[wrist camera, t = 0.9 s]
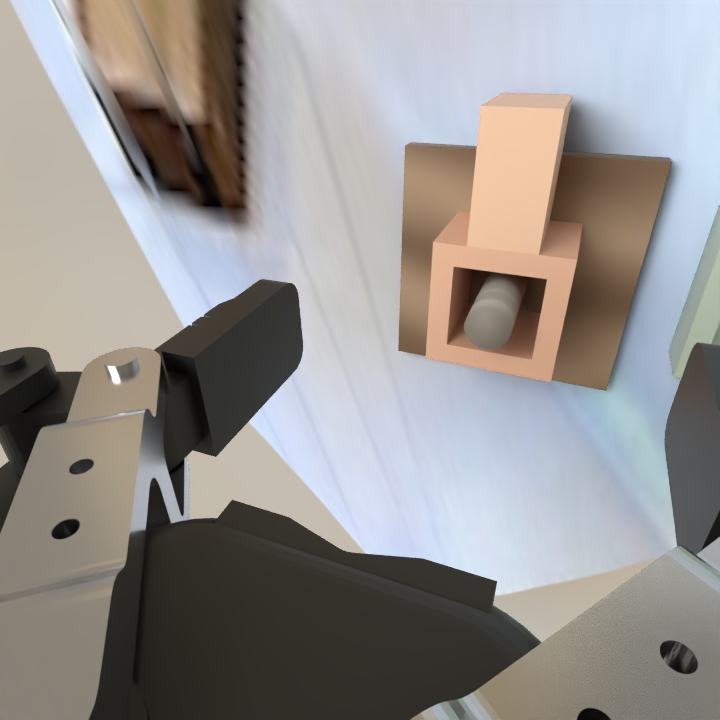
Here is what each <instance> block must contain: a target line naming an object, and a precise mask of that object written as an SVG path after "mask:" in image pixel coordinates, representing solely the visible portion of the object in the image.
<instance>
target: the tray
mask: <svg viewBox="0 0 720 720" xmlns="http://www.w3.org/2000/svg"><path fill="white" fill-rule="evenodd" d="M698 342H700V343H707V344H714V345H720V205H719V208H718V211H717V213H716V216H715V219H714V222H713V225H712V228H711V231H710V234H709V237H708V239H707V242H706V245H705V248H704V251H703V254H702V257H701V260H700V263H699V265H698V268H697V271H696V274H695V277H694V280H693V283H692V286H691V289H690V291H689V294H688V297H687V300H686V303H685V306H684V309H683V312H682V314H681V317H680V320H679V323H678V326H677V329H676V332H675V335H674V338H673V340H672V343H671V346H670V349H669V355H670V361H671V367H672V373H673V377H676V378H682V375H683V372H684V369H685V366H686V364H687V361H688V358H689V355H690V353H691V350H692V348H693V347H694V345H695V344H696V343H698Z"/></svg>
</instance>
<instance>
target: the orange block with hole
mask: <svg viewBox="0 0 720 720" xmlns="http://www.w3.org/2000/svg"><path fill="white" fill-rule="evenodd" d="M572 96H573V95H563V94H526V93H501V94H500V95H498V96H496V97H495V98H493V99H491V100H490V101H488V102H487V103H485V104H483V105H482V106H481V110H480V120H479V130H478V140H477V150H476V160H475V170H474V180H473V190H472V200H471V210H470V212H462V211H459V212H458V213H457V214H456V215H455V216H454V218H453V219H452V220H451V221H450V222H449V224H448V225H447V226H446V227H445V228H444V230H443V231H442V232H441V233H440V234H439V236H438V237H437V238H436V239H435V241H434V242H433V251H432V267H431V282H430V298H429V313H428V329H427V344H426V358H428V359H433V360H438V361H443V362H449V363H454V364H459V365H464V366H469V367H474V368H479V369H485V370H490V371H495V372H500V373H505V374H510V375H515V376H521V377H526V378H531V379H536V380H541V381H546V382H551V379H552V374H553V369H554V365H555V360H556V356H557V351H558V346H559V342H560V337H561V333H562V328H563V323H564V319H565V314H566V310H567V305H568V300H569V296H570V291H571V286H572V282H573V277H574V273H575V268H576V263H577V259H578V252H579V245H580V238H581V232H582V225H583V224H582V223H572V222H562V221H552V220H550V218H551V212H552V207H553V201H554V196H555V190H556V185H557V179H558V173H559V168H560V162H561V157H562V151H563V146H564V140H565V135H566V129H567V124H568V118H569V113H570V107H571V102H572ZM472 269H475V270H483V271H490V272H498V273H505V274H512V275H520V276H527V277H535V278H542V279H547V283H546V288H545V294H544V299H543V304H542V309H541V313H535V312H528V311H522V310H519V311H518V314H517V317H516V320H515V323H514V326H513V329H512V332H511V335H510V338H509V339H508V341H507V342H506V343H505V344H504V345H503V346H501V347H499V348H496V349H483V348H480V347H477V346H476V345H474V344H473V343H471V342H470V340H469V339H468V338H467V336H466V334H465V331H464V324H465V320H466V318H467V316H468V314H469V312H470V310H471V308H472V306H473V304H474V303H470V302H469V294H470V285H471V276H472Z"/></svg>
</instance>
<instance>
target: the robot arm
mask: <svg viewBox="0 0 720 720" xmlns="http://www.w3.org/2000/svg"><path fill="white" fill-rule="evenodd" d="M302 352H303V339H302V328H301V318H300V308H299V297H298V292H297V289H296V287H295V285H294V284H292V283H286V282H279V281H272V280H265V279H261V280H259V281H258V282H256V283H255V284H253V285H252V286H251V287H249V288H248V289H246V290H245V291H244V292H242V293H241V294H240V295H238V296H237V297H235V298H233V299H231V300H228V301H226V302H223V303H221V304H218V305H217V306H216V307H214V308H213V309H211V310H210V311H208V312H207V313H206V314H204V317H200V318H199V319H197V320H196V321H194V322H193V323H192V326H191V325H189V326H187V327H186V328H185V329H183V330H182V331H180V332H179V333H178V334H176V335H175V336H174V337H172V338H170V339H169V340H168V341H166V342H165V343H163V344H162V345H161V346H159V347H158V348H156V349H155V350H152V349H148V348H140V347H134V348H124V349H119V350H115V351H112V352H109V353H106V354H104V355H102V356H99V357H98V358H96V359H94V360H93V361H91V362H90V363H89V364H88V365H87V366H86V367H85V368H84V370H83V372H56V370H55V367H54V364H53V362H52V359H51V357H50V354H49V352H47V351H46V350H44V349H41V348H36V347H25V348H16V349H11V350H7V351H3V352H0V443H1V445H2V447H3V450H4V451H5V454H6V456H7V458H8V460H9V462H8V463H6V464H5V465H3V466H2V467H1V468H0V720H720V345H714V344H707V343H700V342H698V343H696V344H695V345H694V347H693V348H692V350H691V353H690V355H689V358H688V361H687V364H686V366H685V369H684V372H683V375H682V378H681V381H680V384H679V387H678V389H677V392H676V395H675V398H674V401H673V404H672V407H671V410H670V413H669V416H668V420H667V425H666V431H665V452H666V460H667V468H668V476H669V484H670V492H671V499H672V507H673V515H674V523H675V531H676V539H677V547H675V548H674V549H672V550H670V551H668V552H667V553H665V554H664V555H663V556H661V557H660V558H659V559H657V560H656V561H654V562H653V563H652V564H650V565H649V566H648V567H646V568H645V569H643V570H642V571H641V572H639V573H638V574H636V575H635V576H634V577H632V578H631V579H630V580H628V581H627V582H625V583H624V584H623V585H621V586H620V587H618V588H617V589H616V590H614V591H613V592H611V593H610V594H609V595H607V596H606V597H605V598H603V599H602V600H600V601H599V602H598V603H596V604H595V605H593V606H592V607H591V608H589V609H588V610H587V611H585V612H584V613H582V614H581V615H580V616H578V617H577V618H575V619H574V620H573V621H571V622H570V623H569V624H567V625H566V626H564V627H563V628H562V629H560V630H559V631H558V632H556V633H555V634H553V635H552V636H551V637H549V638H548V639H546V640H545V641H544V642H542V643H541V642H540V641H539V640H538V639H537V638H536V637H535V636H534V635H533V634H531V632H530V631H528V630H527V629H526V628H525V627H524V626H523V625H521V624H520V623H519V622H517V621H516V620H515V619H513V618H512V617H511V616H509V615H508V614H506V613H505V612H503V611H502V610H500V609H498V608H497V607H495V606H493V601H494V596H495V590H496V584H497V581H494V580H491V579H487V578H484V577H481V576H478V575H474V574H471V573H468V572H465V571H461V570H458V569H455V568H452V567H448V566H445V565H442V564H439V563H435V562H432V561H429V560H426V559H421V558H409V557H397V556H385V555H373V554H361V553H351V552H346V551H343V550H341V549H339V548H338V547H336V546H334V545H333V544H331V543H329V542H328V541H326V540H325V539H323V538H321V537H320V536H318V535H317V534H315V533H313V532H311V531H310V530H308V529H307V528H305V527H304V526H302V525H300V524H299V523H297V522H295V521H294V520H292V519H291V518H289V517H286V516H283V515H280V514H276V513H273V512H270V511H267V510H263V509H260V508H257V507H253V506H250V505H247V504H244V503H241V502H237V501H234V500H232V501H231V502H230V503H229V504H228V506H227V507H226V508H225V509H224V511H223V512H222V513H221V514H220V516H219V517H218V518H203V519H191V520H189V477H190V475H189V471H190V469H189V464H188V460H187V455H188V454H189V453H190V452H191V451H192V450H193V451H197V452H201V453H204V454H208V455H211V456H215V457H216V456H217V455H218V454H219V453H220V452H221V451H222V450H223V449H224V447H225V446H226V445H227V444H228V443H229V442H230V441H231V439H233V438H234V436H235V435H236V434H237V433H238V432H239V431H240V430H241V429H242V428H243V427H244V426H245V425H246V423H247V422H248V421H249V420H250V419H251V418H252V417H253V416H254V415H255V414H256V413H257V412H258V410H259V409H260V408H261V407H262V406H263V405H264V404H265V403H266V402H267V401H268V400H269V398H270V397H271V396H272V395H273V394H274V393H275V392H276V391H277V390H278V389H279V388H280V386H281V385H282V384H283V383H284V382H285V381H286V380H287V379H288V378H289V377H290V376H291V374H292V373H293V372H294V371H295V370H296V369H297V367H298V365H299V363H300V361H301V357H302Z"/></svg>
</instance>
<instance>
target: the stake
mask: <svg viewBox="0 0 720 720" xmlns="http://www.w3.org/2000/svg"><path fill="white" fill-rule="evenodd" d="M476 150H477V146H463V145H446V144H429V143H413V142H411V143H409V144H407V145H406V146H405V167H404V197H403V228H402V258H401V289H400V319H399V350H398V351H403V352H408V353H414V354H419V355H424V356H426V344H427V329H428V313H429V298H430V282H431V267H432V251H433V242H434V241H435V239H436V238H437V237H438V236H439V234H440V233H441V232H442V231H443V230H444V228H445V227H446V226H447V225H448V224H449V222H450V221H451V220H452V219H453V218H454V216H455V215H456V214H457V213H458V212H459V211H462V212H470V210H471V200H472V190H473V180H474V170H475V160H476ZM671 163H672V162H671V160H670V158H663V157H647V156H630V155H613V154H596V153H580V152H563V151H562V157H561V162H560V168H559V173H558V179H557V185H556V190H555V196H554V201H553V207H552V212H551V218H550V220H552V221H562V222H572V223H582V224H583V225H582V232H581V238H580V245H579V252H578V259H577V263H576V268H575V273H574V277H573V282H572V286H571V291H570V296H569V300H568V305H567V310H566V314H565V319H564V323H563V328H562V333H561V337H560V342H559V346H558V351H557V356H556V360H555V365H554V369H553V374H552V379H551V380H554V381H559V382H564V383H569V384H574V385H580V386H585V387H590V388H595V389H600V390H605V391H606V389H607V386H608V382H609V379H610V375H611V372H612V368H613V365H614V361H615V358H616V354H617V351H618V347H619V344H620V340H621V337H622V333H623V330H624V326H625V323H626V319H627V316H628V312H629V309H630V305H631V302H632V299H633V295H634V292H635V288H636V285H637V281H638V278H639V274H640V271H641V267H642V264H643V260H644V257H645V253H646V250H647V246H648V243H649V239H650V236H651V232H652V229H653V225H654V222H655V218H656V215H657V211H658V208H659V204H660V201H661V197H662V194H663V190H664V187H665V183H666V180H667V176H668V173H669V170H670V166H671ZM546 283H547V279H542V278H535V277H527V276H520V275H512V274H505V273H498V272H490V271H483V270H475V269H472V276H471V285H470V294H469V302H470V303H474V304H473V306H472V308H471V310H470V312H469V314H468V316H467V318H466V320H465V324H464V331H465V334H466V336H467V338H468V339H469V340H470V342H471V343H473V344H474V345H476V346H477V347H480V348H483V349H496V348H499V347H501V346H503V345H504V344H505V343H506V342H507V341H508V339H509V338H510V335H511V332H512V329H513V326H514V323H515V320H516V317H517V314H518V311H519V310H522V311H528V312H535V313H541V309H542V304H543V299H544V294H545V288H546Z"/></svg>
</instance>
